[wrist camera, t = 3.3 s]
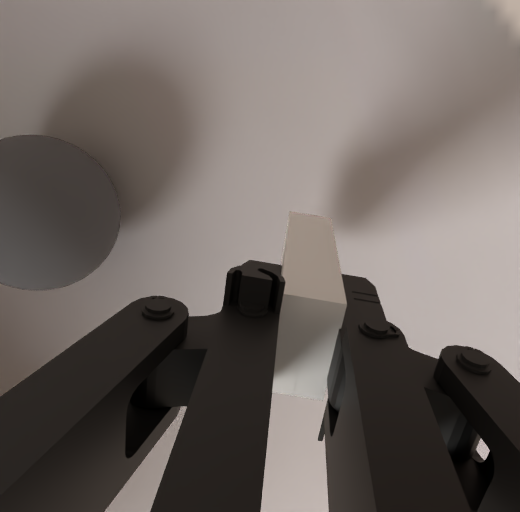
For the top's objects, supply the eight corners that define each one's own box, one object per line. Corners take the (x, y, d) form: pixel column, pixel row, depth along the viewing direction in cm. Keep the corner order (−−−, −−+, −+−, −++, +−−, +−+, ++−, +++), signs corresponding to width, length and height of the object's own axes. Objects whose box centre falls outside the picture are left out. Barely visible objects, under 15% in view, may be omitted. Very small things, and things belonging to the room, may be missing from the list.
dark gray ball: (16, 245, 20) (-83, 303, 15) (7, 117, 18) (-113, 132, 12) (138, 266, 20) (80, 332, 14) (143, 138, 17) (77, 163, 12)
